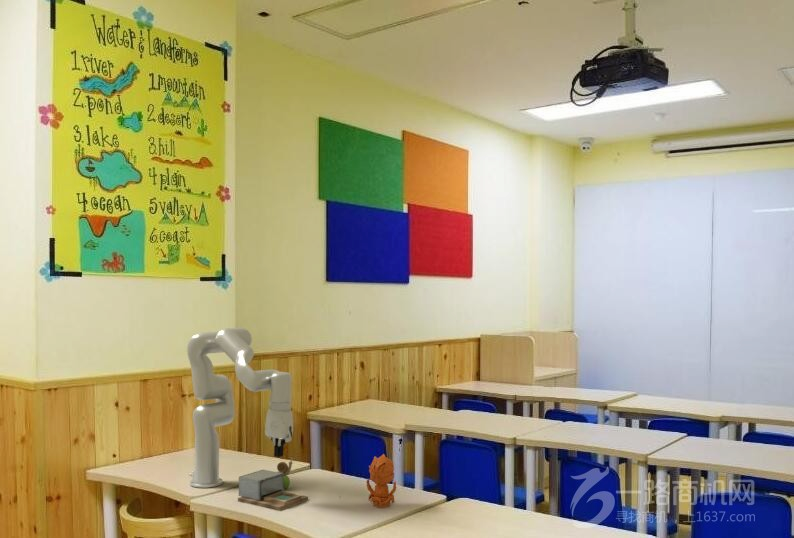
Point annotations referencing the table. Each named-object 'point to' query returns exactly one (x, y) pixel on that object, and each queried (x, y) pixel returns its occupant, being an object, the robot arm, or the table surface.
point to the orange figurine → (381, 481)
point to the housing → (260, 484)
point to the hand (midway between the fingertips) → (278, 456)
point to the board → (276, 500)
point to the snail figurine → (285, 472)
